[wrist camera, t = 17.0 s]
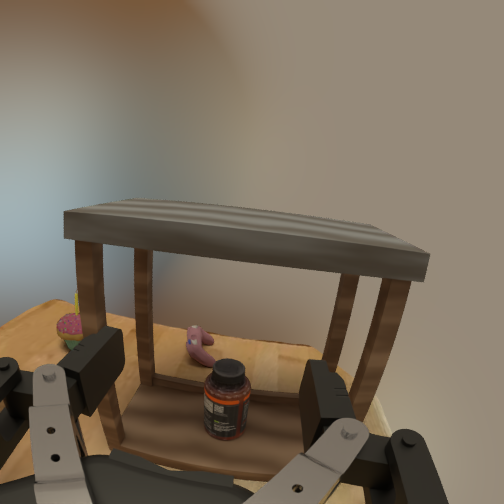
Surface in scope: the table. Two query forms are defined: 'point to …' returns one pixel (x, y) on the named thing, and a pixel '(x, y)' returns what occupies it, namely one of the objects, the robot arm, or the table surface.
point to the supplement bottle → (226, 400)
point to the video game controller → (199, 345)
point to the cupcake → (71, 327)
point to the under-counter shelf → (184, 399)
